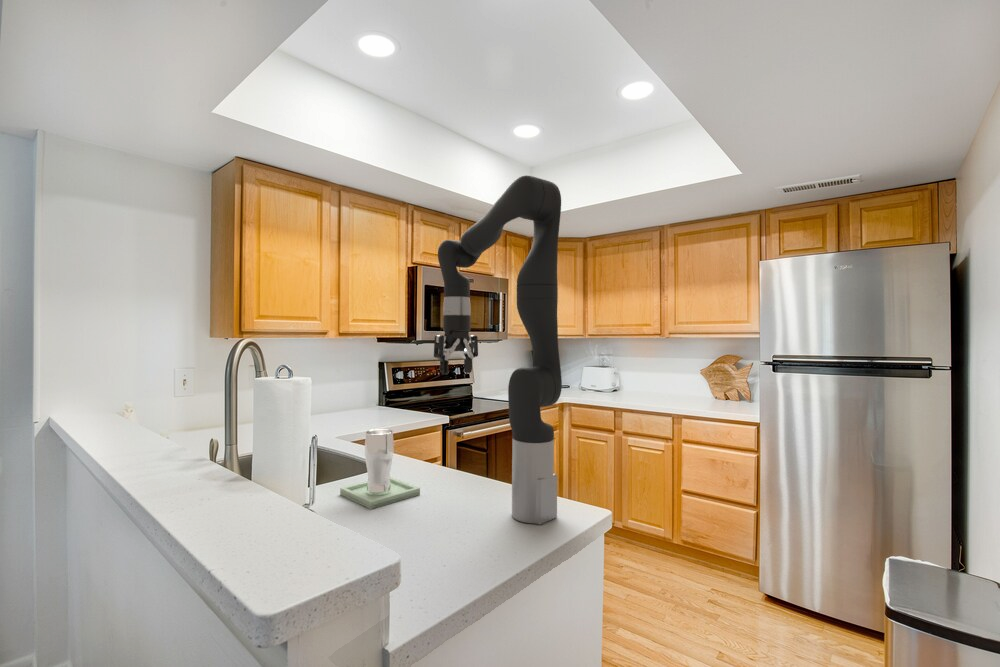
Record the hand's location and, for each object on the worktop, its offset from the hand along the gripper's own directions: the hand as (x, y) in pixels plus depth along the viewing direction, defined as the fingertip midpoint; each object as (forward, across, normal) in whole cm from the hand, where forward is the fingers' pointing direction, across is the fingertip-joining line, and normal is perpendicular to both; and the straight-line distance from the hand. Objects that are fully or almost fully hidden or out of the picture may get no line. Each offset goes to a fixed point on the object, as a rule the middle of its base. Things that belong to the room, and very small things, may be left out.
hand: (456, 373), depth 130 cm
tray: (+30, -20, +6) cm, 36 cm away
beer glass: (+29, -20, +6) cm, 36 cm away
